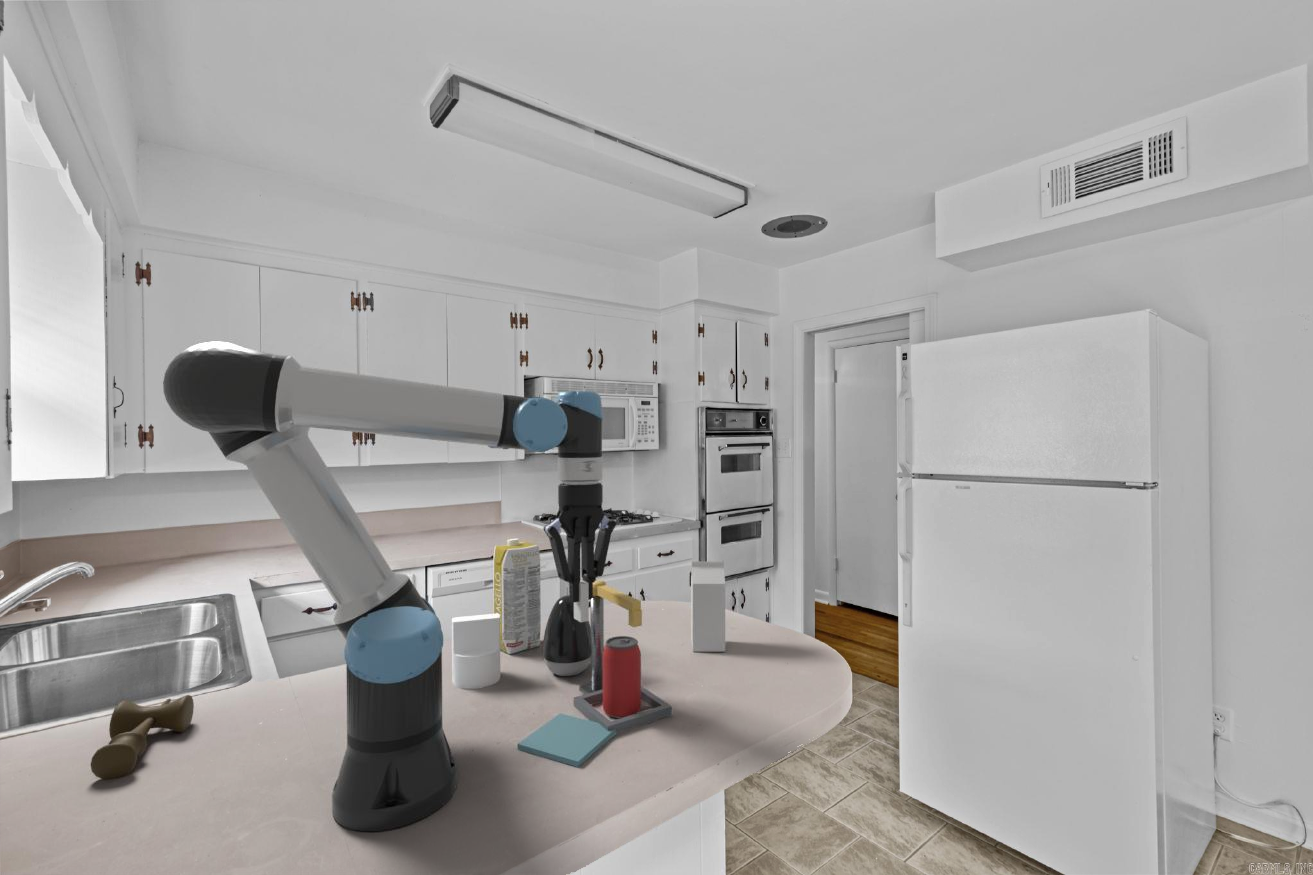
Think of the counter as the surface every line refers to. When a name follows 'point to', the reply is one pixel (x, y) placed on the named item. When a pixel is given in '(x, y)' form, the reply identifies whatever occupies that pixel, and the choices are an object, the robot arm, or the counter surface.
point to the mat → (566, 739)
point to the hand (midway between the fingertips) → (581, 619)
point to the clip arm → (620, 601)
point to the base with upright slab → (475, 651)
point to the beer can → (621, 677)
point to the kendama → (137, 733)
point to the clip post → (596, 646)
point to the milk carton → (708, 607)
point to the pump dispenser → (566, 640)
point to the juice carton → (517, 595)
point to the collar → (625, 723)
